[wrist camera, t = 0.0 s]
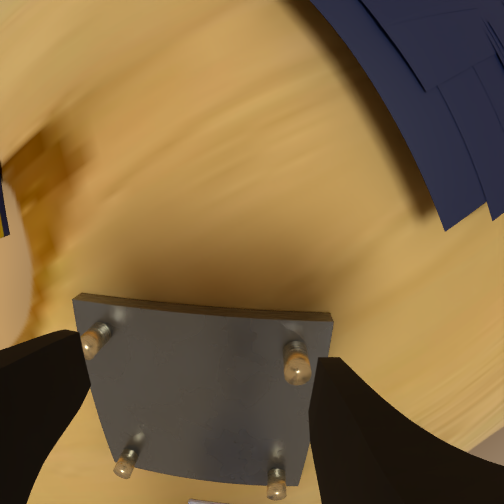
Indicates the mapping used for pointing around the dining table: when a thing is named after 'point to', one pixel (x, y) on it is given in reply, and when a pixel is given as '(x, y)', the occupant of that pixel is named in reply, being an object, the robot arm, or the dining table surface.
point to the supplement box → (3, 216)
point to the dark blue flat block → (437, 89)
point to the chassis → (203, 387)
